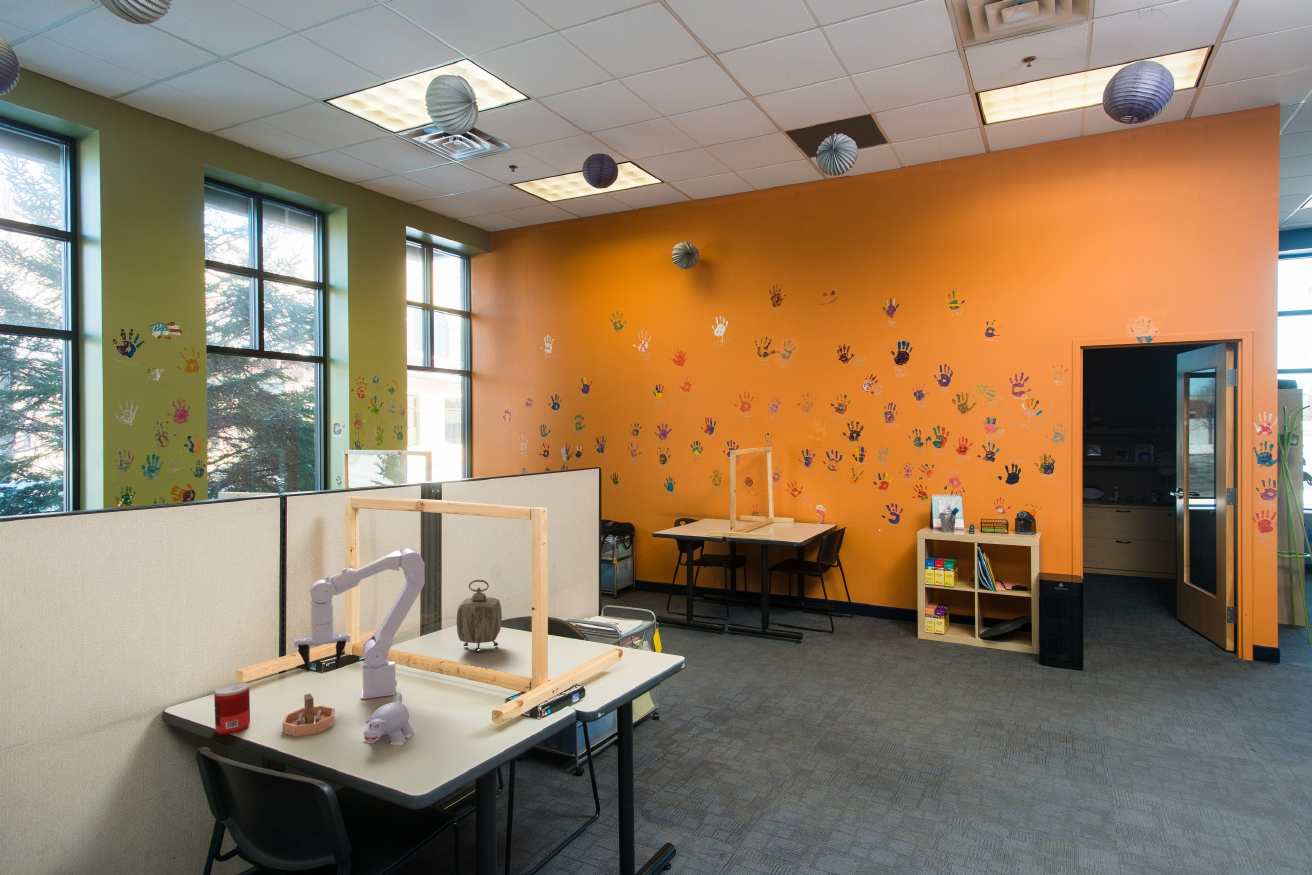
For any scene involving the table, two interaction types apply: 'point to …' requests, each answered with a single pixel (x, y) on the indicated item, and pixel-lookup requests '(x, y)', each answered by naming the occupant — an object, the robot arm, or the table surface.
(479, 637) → the tabletop clock
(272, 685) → the table surface
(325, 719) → the dish
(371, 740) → the hippopotamus toy
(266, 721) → the table surface
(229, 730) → the canned food
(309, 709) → the brown rectangular block
